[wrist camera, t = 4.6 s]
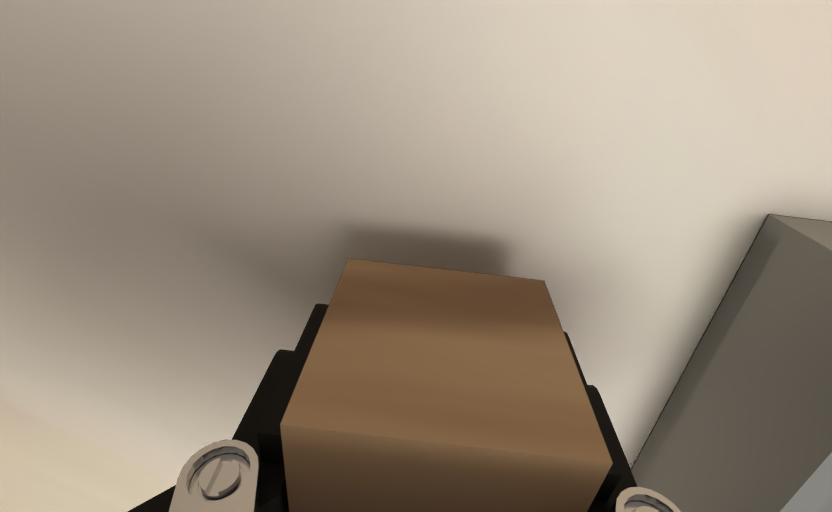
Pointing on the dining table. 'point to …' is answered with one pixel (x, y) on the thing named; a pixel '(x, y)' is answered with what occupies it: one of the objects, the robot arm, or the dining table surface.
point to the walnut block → (440, 400)
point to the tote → (756, 388)
